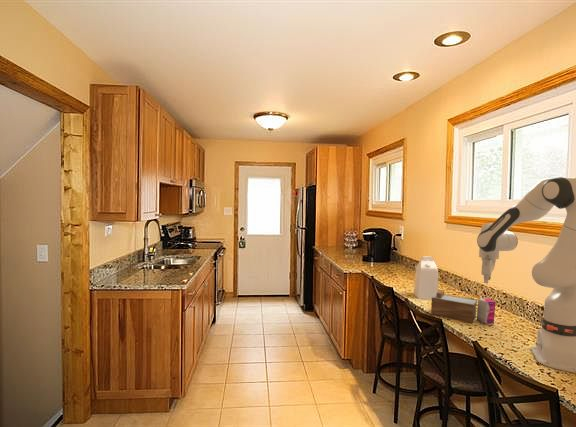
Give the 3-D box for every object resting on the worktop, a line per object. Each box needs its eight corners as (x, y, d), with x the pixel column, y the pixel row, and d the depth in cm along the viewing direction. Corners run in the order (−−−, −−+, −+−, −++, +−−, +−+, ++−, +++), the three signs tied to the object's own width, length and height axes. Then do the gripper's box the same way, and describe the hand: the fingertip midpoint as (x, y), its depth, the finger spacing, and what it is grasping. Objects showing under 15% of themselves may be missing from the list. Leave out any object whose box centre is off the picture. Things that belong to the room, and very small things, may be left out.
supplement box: (485, 324, 178) (486, 301, 177) (476, 320, 183) (477, 298, 183) (494, 323, 179) (495, 301, 179) (485, 319, 185) (486, 297, 184)
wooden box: (472, 323, 178) (473, 305, 178) (431, 314, 190) (431, 297, 190) (475, 317, 188) (476, 299, 188) (436, 309, 200) (437, 293, 199)
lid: (473, 306, 179) (473, 299, 179) (432, 299, 191) (432, 292, 191) (476, 302, 187) (476, 295, 187) (436, 295, 198) (436, 289, 198)
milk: (432, 294, 231) (434, 255, 230) (438, 299, 220) (440, 258, 219) (413, 293, 233) (415, 254, 232) (418, 298, 221) (420, 257, 220)
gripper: (493, 257, 169) (492, 286, 170) (498, 252, 186) (496, 278, 187) (478, 256, 173) (477, 284, 174) (484, 251, 190) (482, 276, 190)
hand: (487, 281), depth 180 cm, fingers open, 8 cm apart
